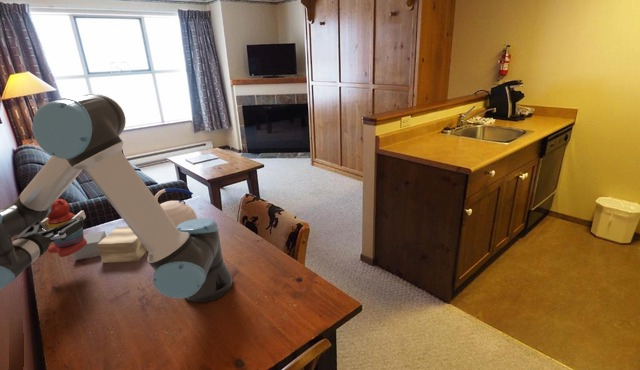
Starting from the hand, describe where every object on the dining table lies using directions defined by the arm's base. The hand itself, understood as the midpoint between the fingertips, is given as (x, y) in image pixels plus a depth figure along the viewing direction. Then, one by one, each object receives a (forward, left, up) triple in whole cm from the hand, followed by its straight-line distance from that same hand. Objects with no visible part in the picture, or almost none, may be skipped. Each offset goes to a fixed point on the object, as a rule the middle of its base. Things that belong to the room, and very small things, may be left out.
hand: (69, 215), depth 117 cm
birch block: (+5, -13, -20) cm, 25 cm away
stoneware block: (+9, +2, -20) cm, 22 cm away
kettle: (+24, -25, -20) cm, 41 cm away
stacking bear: (-5, 0, -10) cm, 11 cm away
